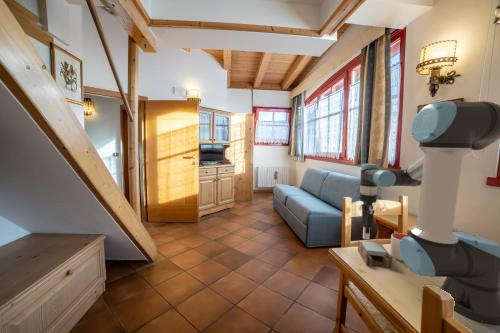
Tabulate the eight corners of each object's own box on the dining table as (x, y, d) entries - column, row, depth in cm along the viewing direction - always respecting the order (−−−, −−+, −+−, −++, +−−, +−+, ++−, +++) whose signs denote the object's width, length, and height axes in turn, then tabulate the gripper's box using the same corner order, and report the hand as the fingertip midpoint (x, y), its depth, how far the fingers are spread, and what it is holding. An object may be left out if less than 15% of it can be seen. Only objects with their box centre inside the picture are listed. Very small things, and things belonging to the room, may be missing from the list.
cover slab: (386, 256, 93) (386, 252, 93) (366, 254, 95) (366, 250, 95) (378, 246, 103) (378, 242, 102) (360, 244, 105) (360, 240, 104)
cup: (422, 263, 94) (423, 242, 93) (399, 263, 94) (400, 241, 93) (405, 252, 104) (407, 233, 103) (385, 252, 104) (386, 233, 103)
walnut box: (391, 269, 90) (392, 257, 89) (366, 265, 92) (366, 254, 92) (380, 253, 103) (380, 243, 103) (357, 251, 106) (358, 241, 105)
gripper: (381, 197, 100) (378, 244, 102) (372, 191, 113) (370, 234, 115) (363, 196, 102) (361, 243, 104) (356, 191, 115) (355, 233, 116)
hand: (366, 238), depth 109 cm, fingers closed
